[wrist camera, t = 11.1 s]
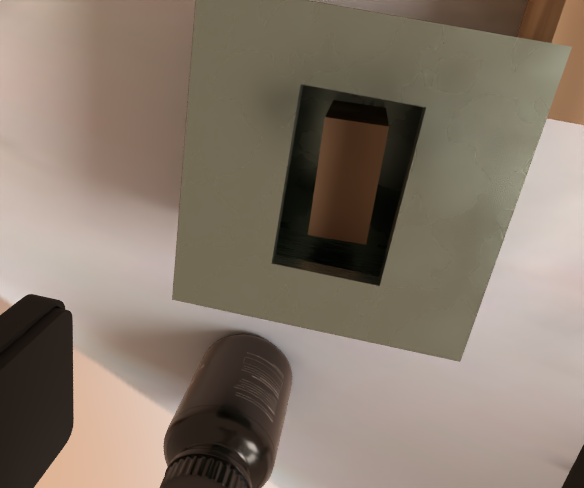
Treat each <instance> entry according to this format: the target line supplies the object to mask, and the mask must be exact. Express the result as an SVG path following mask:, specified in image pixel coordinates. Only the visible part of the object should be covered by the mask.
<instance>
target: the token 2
mask: <svg viewBox="0 0 584 488" xmlns="http://www.w3.org/2000/svg"><path fill="white" fill-rule="evenodd" d="M517 37H519V38H525V39H530V40H536V41H542V42H547V43H553V44H559V45H565V46H570V47H572V49H571V51H570V54H569V57H568V60H567V63H566V65H565V68H564V71H563V74H562V77H561V79H560V82H559V85H558V88H557V91H556V94H555V96H554V99H553V102H552V105H551V108H550V110H549V113H548V116H547V118H548V119H554V120H559V121H564V122H570V123H575V124H581V125H584V0H529V1H528V4H527V7H526V10H525V14H524V17H523V20H522V23H521V26H520V30H519V33H518V36H517Z"/></svg>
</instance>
